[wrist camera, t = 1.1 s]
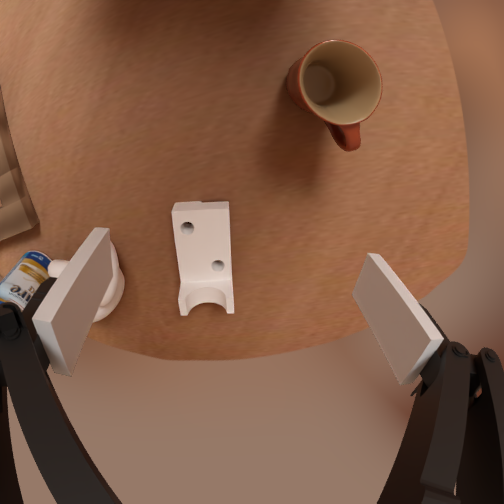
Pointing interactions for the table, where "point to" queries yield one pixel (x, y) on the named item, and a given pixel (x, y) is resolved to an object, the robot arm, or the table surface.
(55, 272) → the white knot
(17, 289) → the beverage bottle
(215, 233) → the bracket
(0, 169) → the lane board
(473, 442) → the robot arm
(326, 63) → the mug
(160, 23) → the table surface
